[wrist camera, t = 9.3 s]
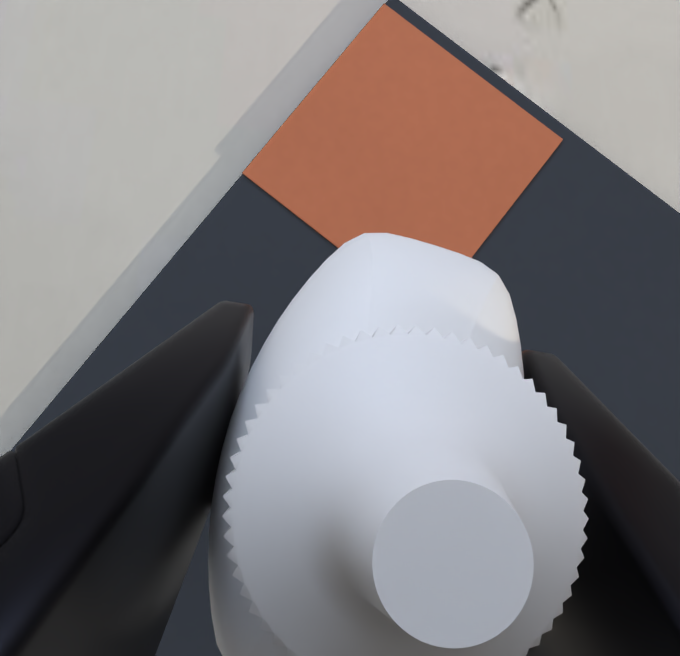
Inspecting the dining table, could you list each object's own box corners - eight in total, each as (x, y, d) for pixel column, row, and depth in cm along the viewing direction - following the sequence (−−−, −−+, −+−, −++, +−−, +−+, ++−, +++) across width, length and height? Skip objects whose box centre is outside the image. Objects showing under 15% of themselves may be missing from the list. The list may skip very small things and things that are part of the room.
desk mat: (839, 339, 22) (848, 338, 22) (447, 909, 20) (449, 920, 19) (391, -1, 23) (392, -8, 22) (-38, 511, 20) (-45, 514, 20)
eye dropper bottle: (191, 449, 14) (-420, 663, 3) (366, 285, 15) (540, -172, 3) (322, 592, 14) (328, 1593, 2) (495, 418, 15) (1232, 474, 3)
